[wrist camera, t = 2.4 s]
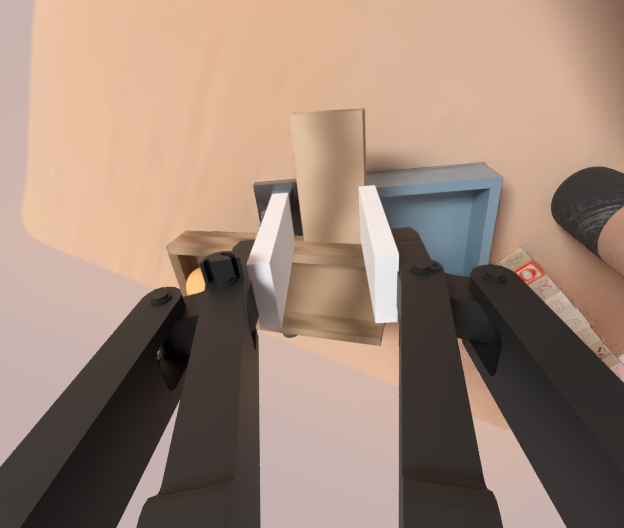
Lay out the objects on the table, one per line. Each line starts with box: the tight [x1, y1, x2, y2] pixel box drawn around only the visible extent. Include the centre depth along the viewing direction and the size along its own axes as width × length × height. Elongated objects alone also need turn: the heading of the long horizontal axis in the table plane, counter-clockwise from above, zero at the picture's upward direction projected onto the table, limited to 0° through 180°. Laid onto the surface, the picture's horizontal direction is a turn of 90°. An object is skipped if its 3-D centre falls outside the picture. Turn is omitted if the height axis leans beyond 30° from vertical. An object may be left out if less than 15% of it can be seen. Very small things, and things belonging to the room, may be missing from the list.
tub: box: [366, 162, 503, 277], centre depth 40 cm, size 13×14×5 cm
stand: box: [253, 179, 303, 338], centre depth 39 cm, size 6×14×10 cm, turn 6°
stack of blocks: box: [494, 247, 624, 382], centre depth 43 cm, size 21×6×12 cm, turn 45°
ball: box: [186, 267, 205, 295], centre depth 36 cm, size 4×4×4 cm
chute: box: [166, 108, 385, 346], centre depth 33 cm, size 20×20×6 cm
